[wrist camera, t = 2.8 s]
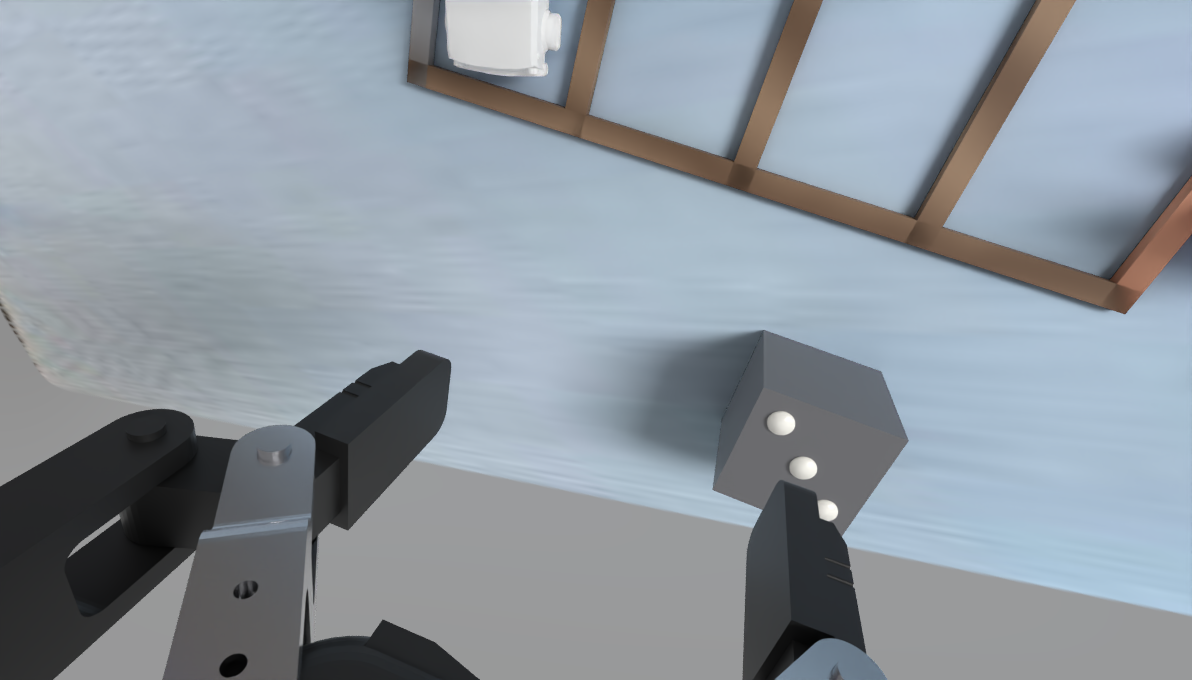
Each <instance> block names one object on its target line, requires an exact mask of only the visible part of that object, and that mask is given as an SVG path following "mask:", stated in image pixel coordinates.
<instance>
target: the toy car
mask: <svg viewBox="0 0 1192 680" xmlns="http://www.w3.org/2000/svg"><path fill="white" fill-rule="evenodd" d="M445 9H446V13H445V28H446V31H447V51H448V56H449V59H453V60H454V65H455V66H457V67H459V68H463V69H468V70H473V71H478V72H483V73H486V74H493V75H500V76H546V75H547V74H548V65H547V63H545V53H546V52H547V51H548V50H553V51H557V50H558V49H559V48H560V46H561V27H562V19H561V17H560V15H559V14H556V13H551V12H550V11H549V10H548V9H549V0H445Z"/></svg>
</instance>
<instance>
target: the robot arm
mask: <svg viewBox="0 0 1192 680" xmlns="http://www.w3.org/2000/svg"><path fill="white" fill-rule="evenodd" d="M450 374H451V362H450V360H448V359H445V358H443V357H440V356H437V355H434V354H431V353H429V352H426V351H423V350H418V351H416V352H415V353H413V354H412V355H411V356H410V357H408V358H407V359H406V360H404V361H403V362H402V363H401V364H397V363H395V362H390V363H387V364H384V365H381V366H378V367H375V368H372V369H370V370H369V371H368V372H366V373H365V374H363V375H362V376H361V377H359V378H358V379H357V380H356V381H355V383H351V384H350V385H349V386H347V387H346V388H345V389H343V391H342V393H341V392H339V393H338V394H336V395H335V396H334V397H332V398H331V399H330V400H328V401H327V402H326V403H324V404H323V405H322V406H320V407H319V408H318V409H316V410H315V411H313V412H312V413H311V414H309V415H308V416H307V417H305V418H304V419H303V420H301V421H300V422H299V423H297V424H296V425H295V426H291V425H273V426H267V427H263V428H259V429H256V430H254V431H252V432H250V433H248V434H246V435H244V436H243V437H242V438H241V439H239V440H231V439H222V438H213V437H204V436H196V434H195V428H194V423H193V420H192V419H191V418H190V417H189V416H188V415H186V414H184V413H182V412H179V411H175V410H169V409H152V410H145V411H140V412H136V413H133V414H129V415H127V416H124V417H122V418H120V419H118V420H115V421H114V422H112V423H110V424H108V425H107V426H105V427H103V428H101V429H100V430H98V431H96V432H94V433H93V434H91V435H89V436H88V437H86V438H84V439H82V440H80V441H79V442H77V443H75V444H74V445H72V446H70V447H68V448H67V449H65V450H63V451H61V452H60V453H58V454H56V455H54V456H53V457H51V458H49V459H48V460H46V461H44V462H42V463H41V464H39V465H37V466H35V467H34V468H32V469H30V470H28V471H27V472H25V473H23V474H21V475H20V476H18V477H16V478H14V479H13V480H11V481H9V482H7V483H6V484H4V485H2V486H0V680H53V679H54V678H55V677H56V676H58V675H59V674H60V673H61V672H62V671H63V670H64V669H65V668H66V667H67V666H69V665H70V664H71V663H72V662H73V661H74V660H75V659H76V658H77V657H79V656H80V655H81V654H82V653H83V652H84V651H85V650H86V649H87V648H88V647H90V646H91V645H92V644H93V643H94V642H95V641H96V640H97V639H98V638H99V637H100V636H102V635H103V634H104V633H105V632H106V631H107V630H108V629H109V628H110V627H112V626H113V625H114V624H115V623H116V622H117V621H118V620H119V619H120V618H122V616H124V615H125V614H126V613H127V612H128V611H129V610H130V609H131V608H133V607H134V606H135V605H136V604H137V603H138V602H139V601H140V600H141V599H142V598H143V597H145V596H146V595H147V594H148V593H149V592H150V591H151V590H152V589H154V587H156V586H157V585H158V584H159V583H160V582H161V581H162V580H163V579H164V578H166V577H167V576H168V575H169V574H170V573H171V572H172V571H173V570H174V569H176V568H177V567H178V566H179V565H180V564H181V563H182V562H183V561H184V560H186V559H187V558H188V556H190V555H191V554H192V553H193V552H194V551H195V550H196V552H195V556H194V560H193V564H192V568H191V571H190V575H189V579H188V583H187V587H186V591H185V595H184V598H183V603H182V606H181V610H180V614H179V618H178V622H177V625H176V629H175V633H174V637H173V641H172V645H171V649H170V653H169V657H168V660H167V664H166V668H165V672H164V676H163V679H162V680H480V679H478V678H477V677H475V676H474V675H473V674H472V673H471V672H470V671H469V670H467V669H466V668H465V667H464V666H462V665H461V664H460V663H459V662H458V661H457V660H455V659H454V658H453V657H452V656H451V655H449V654H448V653H447V652H446V651H445V650H444V649H442V648H441V647H440V646H439V645H438V644H436V643H435V642H433V641H431V640H428V639H426V638H424V637H422V636H419V635H417V634H415V633H412V632H410V631H408V630H406V629H403V628H401V627H398V626H396V625H394V624H392V623H390V622H387V621H385V620H382V621H381V623H380V624H379V626H378V627H377V628H376V630H375V631H374V633H373V634H372V636H371V637H367V636H345V637H334V638H329V639H324V640H320V641H316V642H315V610H316V589H317V568H318V567H317V566H318V547H319V537H318V536H319V533H320V532H321V531H322V530H323V529H324V528H325V527H326V526H327V525H328V524H329V523H331V524H334V525H336V526H338V527H341V528H343V529H346V530H349V529H350V528H351V527H352V526H353V524H354V523H355V522H356V521H357V520H358V519H359V518H360V517H361V516H362V515H363V514H364V512H365V511H366V510H367V509H368V508H369V507H370V506H371V505H372V504H373V503H374V501H376V499H377V498H378V497H379V496H380V495H381V494H382V493H383V492H384V491H385V490H386V489H387V487H388V486H389V485H390V484H391V483H392V482H393V481H394V480H395V479H396V478H397V477H398V476H399V474H400V473H401V472H402V471H403V470H404V469H405V468H406V467H407V465H409V463H410V462H411V461H412V460H413V459H414V458H415V457H416V456H417V455H418V454H419V453H420V452H421V451H422V449H423V448H424V447H425V446H426V445H427V444H428V443H429V442H430V441H431V440H432V439H433V437H434V436H435V435H436V434H437V432H438V431H439V429H440V428H441V426H442V423H443V421H444V418H445V415H446V410H447V401H448V392H449V383H450ZM118 514H119V515H120V518H121V519H120V520H119V521H117V522H116V523H115V524H113V525H112V526H110V527H109V528H108V529H106V530H105V531H104V532H102V533H101V534H100V535H99V536H97V537H96V538H95V539H93V540H92V541H90V542H89V543H88V544H86V545H85V546H84V547H82V548H81V549H79V550H78V551H77V552H75V553H74V554H73V555H71V556H70V557H69V558H68V556H69V555H70V553H71V552H72V550H73V549H74V548H75V547H76V546H77V545H78V544H79V543H80V542H81V541H82V540H84V539H85V538H86V537H88V536H89V535H90V534H92V533H93V532H94V531H96V530H97V529H99V528H100V527H101V526H103V525H104V524H105V523H107V522H108V521H109V520H111V519H112V518H113V517H115V516H116V515H118ZM746 565H747V566H746V593H745V622H744V652H743V680H887V678H886V677H885V675H884V673H883V672H882V671H881V669H880V668H879V667H878V665H877V664H876V663H875V662H874V661H873V660H872V659H871V658H870V657H869V656H868V655H867V654H866V649H865V644H864V638H863V633H862V627H861V622H860V616H859V611H858V605H857V599H856V594H855V589H854V588H853V584H854V583H853V578H852V572H851V570H850V561H849V555H848V549H847V545H846V543H845V541H844V540H843V538H842V536H841V535H840V533H839V531H838V530H837V528H836V526H835V525H834V523H832V522H829V521H826V520H823V519H821V518H820V516H819V509H818V501H817V495H816V493H815V492H814V491H812V490H809V489H806V488H803V487H801V486H798V485H795V484H792V483H789V482H787V481H784V480H780V481H778V483H777V484H776V486H775V487H774V489H773V491H772V493H771V495H770V497H769V499H768V501H767V503H766V505H765V507H764V509H763V511H762V513H761V514H760V516H759V518H758V520H757V522H756V524H755V526H754V528H753V531H752V533H751V537H750V540H749V544H748V549H747V563H746Z"/></svg>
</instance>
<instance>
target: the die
mask: <svg viewBox="0 0 1192 680" xmlns="http://www.w3.org/2000/svg"><path fill="white" fill-rule="evenodd" d="M907 442H908V438H907V435H906V433H905V430H904V428H903V425H902V423H901V420H900V418H899V415H898V413H897V410H896V408H895V405H894V403H893V400H892V398H891V395H890V393H889V390H888V388H887V385H886V383H885V380H884V377H883V375H882V372H881V371H878V370H875V369H873V368H870V367H867V366H864V365H861V364H858V363H856V362H853V361H850V360H847V359H844V358H842V357H839V356H836V355H833V354H830V353H827V352H825V351H822V350H819V349H816V348H813V347H810V346H808V345H805V344H802V343H799V342H796V341H794V340H791V339H788V338H785V337H782V336H779V335H777V334H774V333H771V332H768V331H765V330H764V331H763V333H762V335H761V337H760V339H759V342H758V344H757V346H756V348H755V350H754V352H753V354H752V356H751V359H750V361H749V363H748V365H747V367H746V369H745V371H744V374H743V376H742V378H741V380H740V382H739V384H738V386H737V389H736V391H735V393H734V395H733V397H732V399H731V401H730V403H729V406H728V408H727V410H726V412H725V414H724V416H723V418H722V421H721V428H720V436H719V444H718V452H717V459H716V467H715V475H714V483H713V490H714V491H717V492H719V493H722V494H724V495H727V496H729V497H732V498H734V499H737V500H739V501H742V502H744V503H747V504H749V505H752V506H754V507H757V508H760V509H762V510H763V509H764V507H765V505H766V503H767V501H768V499H769V497H770V495H771V493H772V491H773V489H774V487H775V486H776V484H777V483H778V481H780V480H784V481H787V482H789V483H792V484H795V485H798V486H801V487H803V488H806V489H809V490H812V491H814V492H815V493H816V495H817V501H818V509H819V516H820V518H821V519H823V520H826V521H829V522H832V523H834V525H835V526H836V528H837V530H838V531H839V533H840V535H841V536H842V535H843V534H844V532H845V531H846V530H847V528H848V527H849V525H850V524H851V522H852V521H853V519H854V518H855V517H856V515H857V514H858V512H859V511H860V509H861V508H862V507H863V505H864V504H865V502H866V501H867V499H868V498H869V497H870V495H871V494H872V492H873V491H874V489H875V488H876V487H877V485H878V484H879V482H880V481H881V479H882V478H883V477H884V475H885V474H886V472H887V471H888V469H889V468H890V467H891V465H892V464H893V462H894V461H895V459H896V458H897V457H898V455H899V454H900V452H901V451H902V449H903V448H904V447H905V445H906V444H907Z"/></svg>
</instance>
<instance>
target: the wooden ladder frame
mask: <svg viewBox="0 0 1192 680" xmlns="http://www.w3.org/2000/svg"><path fill="white" fill-rule="evenodd" d="M822 1H823V0H794V2H793V5H792V7H791V10H790V13H789V15H788V18H787V21H786V23H785V26H784V29H783V32H782V34H781V37H780V40H779V42H778V45H777V48H776V50H775V53H774V56H773V58H772V61H771V64H770V67H769V69H768V72H767V75H766V77H765V80H764V83H763V85H762V88H761V91H760V93H759V96H758V99H757V101H756V104H755V107H754V110H753V112H752V115H751V118H750V120H749V123H748V126H747V128H746V131H745V134H744V136H743V139H742V142H741V145H740V147H739V150H738V153H737V155H736V158H735V161H733V160H730V159H727V158H724V157H721V156H718V155H714V154H711V153H708V152H705V151H702V150H699V149H696V148H692V147H689V146H686V145H683V144H680V143H677V142H674V141H670V140H667V139H664V138H661V137H658V136H655V135H651V134H648V133H645V132H642V131H639V130H636V129H633V128H629V127H626V126H623V125H620V124H617V123H614V122H610V121H607V120H604V119H601V118H598V117H595V116H592V115H589V111H590V107H591V102H592V98H593V94H594V90H595V85H596V81H597V77H598V72H599V68H600V64H601V60H602V55H603V51H604V47H605V42H606V38H607V34H608V30H609V25H610V21H611V17H612V12H613V8H614V4H615V0H588V2H587V7H586V12H585V16H584V21H583V26H582V31H581V35H580V40H579V45H578V49H577V54H576V59H575V64H574V68H573V73H572V78H571V82H570V87H569V92H568V97H567V101H566V106H565V107H563V106H560V105H557V104H554V103H551V102H547V101H544V100H541V99H538V98H535V97H532V96H529V95H525V94H522V93H519V92H516V91H513V90H510V89H507V88H503V87H500V86H497V85H494V84H491V83H488V82H484V81H481V80H478V79H475V78H472V77H469V76H466V75H462V74H459V73H456V72H453V71H450V70H447V69H444V68H440V67H437V66H434V55H435V44H436V34H437V24H438V14H439V3H440V0H413V10H412V23H411V36H410V49H409V62H408V75H407V82H409V83H412V84H415V85H418V86H421V87H424V88H428V89H431V90H434V91H437V92H440V93H443V94H446V95H449V96H452V97H455V98H458V99H462V100H465V101H468V102H471V103H474V104H477V105H480V106H483V107H486V108H489V109H492V110H495V111H499V112H502V113H505V114H508V115H511V116H514V117H517V118H520V119H523V120H526V121H529V122H533V123H536V124H539V125H542V126H545V127H548V128H551V129H554V130H557V131H560V132H563V133H567V134H570V135H573V136H576V137H579V138H582V139H585V140H588V141H591V142H594V143H597V144H601V145H604V146H607V147H610V148H613V149H616V150H619V151H622V152H625V153H628V154H631V155H635V156H638V157H641V158H644V159H647V160H650V161H653V162H656V163H659V164H662V165H665V166H668V167H672V168H675V169H678V170H681V171H684V172H687V173H690V174H693V175H696V176H699V177H702V178H706V179H709V180H712V181H715V182H718V183H721V184H724V185H727V186H730V187H733V188H736V189H740V190H743V191H746V192H749V193H752V194H755V195H758V196H761V197H764V198H767V199H770V200H774V201H777V202H780V203H783V204H786V205H789V206H792V207H795V208H798V209H801V210H804V211H808V212H811V213H814V214H817V215H820V216H823V217H826V218H829V219H832V220H835V221H838V222H842V223H845V224H848V225H851V226H854V227H857V228H860V229H863V230H866V231H869V232H872V233H875V234H879V235H882V236H885V237H888V238H891V239H894V240H897V241H900V242H903V243H906V244H909V245H913V246H916V247H919V248H922V249H925V250H928V251H931V252H934V253H937V254H940V255H943V256H947V257H950V258H953V259H956V260H959V261H962V262H965V263H968V264H971V265H974V266H977V267H981V268H984V269H987V270H990V271H993V272H996V273H999V274H1002V275H1005V276H1008V277H1011V278H1015V279H1018V280H1021V281H1024V282H1027V283H1030V284H1033V285H1036V286H1039V287H1042V288H1045V289H1049V290H1052V291H1055V292H1058V293H1061V294H1064V295H1067V296H1070V297H1073V298H1076V299H1079V300H1082V301H1086V302H1089V303H1092V304H1095V305H1098V306H1101V307H1104V308H1107V309H1110V310H1113V311H1116V312H1120V313H1123V314H1126V313H1127V311H1128V310H1129V309H1130V308H1131V307H1132V305H1133V304H1134V303H1135V302H1136V301H1137V299H1138V298H1139V297H1140V296H1141V295H1142V293H1143V292H1144V291H1145V290H1146V289H1147V287H1148V286H1149V285H1150V284H1151V283H1152V281H1153V280H1154V279H1155V278H1156V277H1157V275H1158V274H1159V273H1160V272H1161V271H1162V269H1163V268H1164V267H1165V266H1166V265H1167V263H1168V262H1169V261H1170V260H1171V259H1172V257H1173V256H1174V255H1175V254H1176V253H1177V251H1178V250H1179V249H1180V248H1181V246H1182V245H1183V244H1184V243H1185V242H1186V240H1187V239H1188V238H1189V237H1190V236H1191V234H1192V176H1191V178H1190V179H1189V180H1188V181H1187V183H1186V184H1185V185H1184V186H1183V188H1182V189H1181V190H1180V192H1179V193H1178V194H1177V195H1176V197H1175V198H1174V199H1173V200H1172V202H1171V203H1170V204H1169V206H1168V207H1167V208H1166V209H1165V211H1164V212H1163V213H1162V214H1161V216H1160V217H1159V218H1158V220H1157V221H1156V222H1155V223H1154V225H1153V226H1152V227H1151V228H1150V230H1149V231H1148V232H1147V233H1146V235H1145V236H1144V237H1143V239H1142V240H1141V241H1140V242H1139V244H1138V245H1137V246H1136V247H1135V249H1134V250H1133V251H1132V253H1131V254H1130V255H1129V256H1128V258H1127V259H1126V260H1125V261H1124V263H1123V264H1122V265H1121V267H1120V268H1119V269H1118V270H1117V272H1116V273H1115V274H1114V275H1113V277H1112V278H1111V279H1110V280H1108V279H1105V278H1102V277H1099V276H1096V275H1093V274H1089V273H1086V272H1083V271H1080V270H1077V269H1074V268H1070V267H1067V266H1064V265H1061V264H1058V263H1055V262H1052V261H1048V260H1045V259H1042V258H1039V257H1036V256H1033V255H1030V254H1026V253H1023V252H1020V251H1017V250H1014V249H1011V248H1007V247H1004V246H1001V245H998V244H995V243H992V242H989V241H985V240H982V239H979V238H976V237H973V236H970V235H966V234H963V233H960V232H957V231H954V230H951V229H948V228H944V227H943V225H944V223H945V222H946V220H947V218H948V216H949V215H950V213H951V211H952V210H953V208H954V206H955V205H956V203H957V201H958V200H959V198H960V196H961V194H962V193H963V191H964V189H965V188H966V186H967V184H968V183H969V181H970V179H971V177H972V176H973V174H974V172H975V171H976V169H977V167H978V166H979V164H980V162H981V161H982V159H983V157H984V155H985V154H986V152H987V150H988V149H989V147H990V145H991V144H992V142H993V140H994V139H995V137H996V135H997V133H998V132H999V130H1000V128H1001V127H1002V125H1003V123H1004V122H1005V120H1006V118H1007V117H1008V115H1009V113H1010V111H1011V110H1012V108H1013V106H1014V105H1015V103H1016V101H1017V100H1018V98H1019V96H1020V95H1021V93H1022V91H1023V89H1024V88H1025V86H1026V84H1027V83H1028V81H1029V79H1030V78H1031V76H1032V74H1033V72H1034V71H1035V69H1036V67H1037V66H1038V64H1039V62H1040V61H1041V59H1042V57H1043V56H1044V54H1045V52H1046V50H1047V49H1048V47H1049V45H1050V44H1051V42H1052V40H1053V39H1054V37H1055V35H1056V34H1057V32H1058V30H1059V28H1060V27H1061V25H1062V23H1063V22H1064V20H1065V18H1066V17H1067V15H1068V13H1069V12H1070V10H1071V8H1072V6H1073V5H1074V3H1075V1H1076V0H1036V1H1035V3H1034V5H1033V7H1032V8H1031V10H1030V12H1029V14H1028V16H1027V17H1026V19H1025V21H1024V23H1023V25H1022V26H1021V28H1020V30H1019V32H1018V33H1017V35H1016V37H1015V39H1014V41H1013V42H1012V44H1011V46H1010V48H1009V50H1008V51H1007V53H1006V55H1005V57H1004V59H1003V60H1002V62H1001V64H1000V66H999V67H998V69H997V71H996V73H995V75H994V76H993V78H992V80H991V82H990V84H989V85H988V87H987V89H986V91H985V92H984V94H983V96H982V98H981V100H980V101H979V103H978V105H977V107H976V109H975V110H974V112H973V114H972V116H971V118H970V119H969V121H968V123H967V125H966V126H965V128H964V130H963V132H962V134H961V135H960V137H959V139H958V141H957V143H956V144H955V146H954V148H953V150H952V151H951V153H950V155H949V157H948V159H947V160H946V162H945V164H944V166H943V168H942V169H941V171H940V173H939V175H938V176H937V178H936V180H935V182H934V184H933V185H932V187H931V189H930V191H929V193H928V194H927V196H926V198H925V200H924V202H923V203H922V205H921V207H920V209H919V210H918V212H917V214H916V216H915V218H913V217H910V216H907V215H903V214H900V213H897V212H894V211H891V210H888V209H885V208H881V207H878V206H875V205H872V204H869V203H866V202H863V201H859V200H856V199H853V198H850V197H847V196H844V195H840V194H837V193H834V192H831V191H828V190H825V189H822V188H818V187H815V186H812V185H809V184H806V183H803V182H800V181H796V180H793V179H790V178H787V177H784V176H781V175H777V174H774V173H771V172H768V171H765V170H762V169H759V168H757V166H758V164H759V161H760V159H761V156H762V154H763V151H764V148H765V146H766V143H767V141H768V138H769V136H770V133H771V131H772V128H773V126H774V123H775V121H776V118H777V115H778V113H779V110H780V108H781V105H782V103H783V100H784V98H785V95H786V93H787V90H788V88H789V85H790V82H791V80H792V77H793V75H794V72H795V70H796V67H797V65H798V62H799V60H800V57H801V55H802V52H803V49H804V47H805V44H806V42H807V39H808V37H809V34H810V32H811V29H812V27H813V24H814V22H815V19H816V16H817V14H818V11H819V9H820V6H821V4H822Z"/></svg>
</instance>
